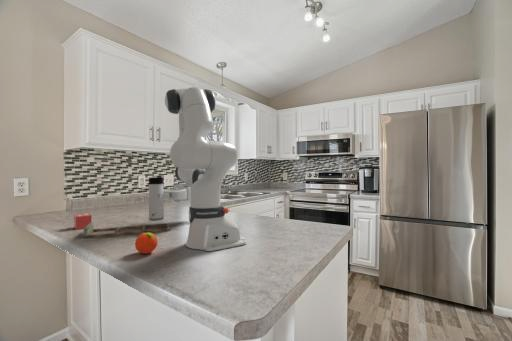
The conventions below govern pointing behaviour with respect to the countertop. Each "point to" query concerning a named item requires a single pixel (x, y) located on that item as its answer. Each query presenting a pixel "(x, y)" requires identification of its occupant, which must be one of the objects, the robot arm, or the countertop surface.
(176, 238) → the countertop surface
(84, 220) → the red die
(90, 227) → the wooden ladder frame
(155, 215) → the travel mug
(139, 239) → the clementine
